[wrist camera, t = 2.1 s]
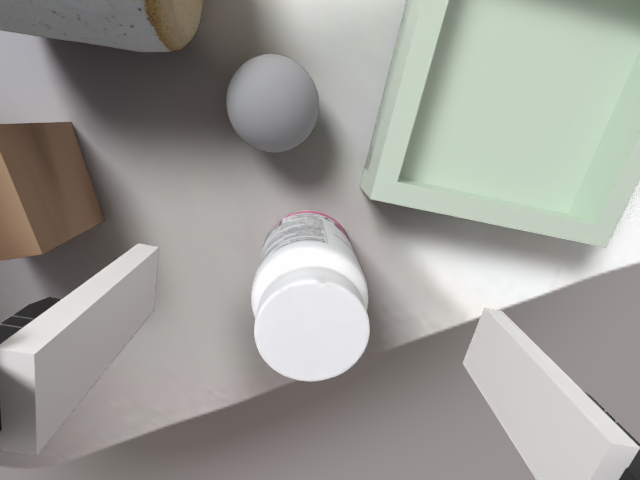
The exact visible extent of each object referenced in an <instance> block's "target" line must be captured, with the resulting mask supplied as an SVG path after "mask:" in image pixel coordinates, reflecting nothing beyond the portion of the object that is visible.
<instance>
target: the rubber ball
mask: <svg viewBox="0 0 640 480" xmlns="http://www.w3.org/2000/svg"><path fill="white" fill-rule="evenodd" d="M226 107H227V113H228V116H229V119H230V122H231V124H232V126H233V128H234V129H235V131H236V132H237V134H238V135H239V136H240V137H241V138H242V139H243V140H244V141H245V142H246V143H248V144H249V145H251V146H252V147H254V148H257V149H259V150H262V151H266V152H283V151H287V150H290V149H292V148H295V147H296V146H298V145H299V144H301V143H302V142H303V141H304V140H305V139H306V138H307V137H308V136H309V135H310V133H311V132H312V130H313V128H314V127H315V124H316V122H317V118H318V113H319V97H318V93H317V89H316V86H315V84H314V82H313V80H312V78H311V77H310V75H309V74H308V72H307V71H306V70H305V69H304V68H303V67H302V66H301V65H300V64H299V63H297V62H295V61H294V60H292V59H290V58H288V57H285V56H282V55H277V54H264V55H259V56H256V57H254V58H251V59H250V60H248V61H246V62H245V63H244V64H242V65H241V66H240V67H239V68H238V70H237V71H236V72H235V74H234V75H233V77H232V79H231V81H230V83H229V86H228V90H227V96H226Z"/></svg>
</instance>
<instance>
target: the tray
mask: <svg viewBox="0 0 640 480" xmlns="http://www.w3.org/2000/svg"><path fill="white" fill-rule="evenodd" d="M639 179H640V0H407V2H406V6H405V10H404V14H403V18H402V22H401V26H400V30H399V34H398V38H397V42H396V46H395V50H394V54H393V58H392V62H391V66H390V70H389V74H388V77H387V81H386V85H385V89H384V93H383V97H382V101H381V105H380V109H379V113H378V117H377V121H376V125H375V129H374V133H373V137H372V141H371V145H370V149H369V153H368V157H367V161H366V165H365V169H364V173H363V177H362V181H361V185H360V188H361V189H362V190H363V191H364V192H365V194H366V195H367V196H368V197H369V198H370V199H372V200H377V201H381V202H386V203H391V204H396V205H401V206H406V207H411V208H415V209H420V210H425V211H430V212H435V213H440V214H445V215H449V216H454V217H459V218H464V219H469V220H474V221H478V222H483V223H488V224H493V225H498V226H503V227H508V228H512V229H517V230H522V231H527V232H532V233H537V234H542V235H546V236H551V237H556V238H561V239H566V240H571V241H576V242H580V243H585V244H590V245H595V246H600V247H605V248H606V247H607V245H608V243H609V240H610V238H611V236H612V234H613V232H614V230H615V228H616V226H617V224H618V222H619V220H620V218H621V216H622V214H623V212H624V210H625V208H626V206H627V204H628V202H629V199H630V197H631V195H632V193H633V191H634V189H635V187H636V185H637V183H638V181H639Z"/></svg>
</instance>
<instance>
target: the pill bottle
mask: <svg viewBox="0 0 640 480" xmlns="http://www.w3.org/2000/svg"><path fill="white" fill-rule="evenodd" d="M251 303H252V310H253V314H254V317H255V324H254V337H255V342H256V345H257V349H258V351H259V353H260V355H261V356H262V358H263V359H264V361H265V362H266V363H267V364H268V365H269V366H270V367H271V368H272V369H274V370H275V371H277V372H278V373H280V374H282V375H284V376H286V377H289V378H292V379H295V380H300V381H320V380H325V379H329V378H332V377H335V376H337V375H340V374H342V373H343V372H345V371H346V370H348V369H349V368H351V367H352V366H353V365H354V364H355V363H356V362H357V361H358V360H359V358H360V357H361V355H362V354H363V352H364V350H365V348H366V346H367V343H368V340H369V335H370V322H369V317H368V314H367V308H368V287H367V283H366V280H365V277H364V274H363V272H362V269H361V267H360V264H359V262H358V260H357V257H356V255H355V252H354V250H353V248H352V245H351V243H350V241H349V238H348V236H347V234H346V232H345V230H344V229H343V227H342V226H341V225H340V224H339V223H338V222H337V221H336V220H335V219H333V218H332V217H330V216H329V215H327V214H325V213H322V212H319V211H312V210H303V211H297V212H293V213H290V214H288V215H286V216H284V217H283V218H281V219H280V220H279V221H277V222H276V223H275V224H274V225H273V227H272V228H271V229H270V231H269V233H268V235H267V237H266V239H265V242H264V245H263V250H262V253H261V257H260V260H259V264H258V268H257V271H256V275H255V278H254V282H253V287H252V294H251Z"/></svg>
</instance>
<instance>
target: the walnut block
mask: <svg viewBox="0 0 640 480" xmlns="http://www.w3.org/2000/svg"><path fill="white" fill-rule="evenodd" d="M104 221H105V220H104V217H103V214H102V211H101V208H100V205H99V202H98V199H97V196H96V193H95V190H94V187H93V184H92V182H91V179H90V176H89V173H88V170H87V167H86V164H85V161H84V158H83V155H82V152H81V149H80V146H79V143H78V140H77V137H76V134H75V132H74V129H73V126H72V123H71V122H55V123H24V124H0V260H7V259H14V258H21V257H28V256H35V255H42V254H44V253H46V252H48V251H50V250H52V249H54V248H55V247H57V246H59V245H61V244H63V243H65V242H66V241H68V240H70V239H72V238H74V237H76V236H78V235H79V234H81V233H83V232H85V231H87V230H89V229H91V228H92V227H94V226H96V225H98V224H100V223H102V222H104Z"/></svg>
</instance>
